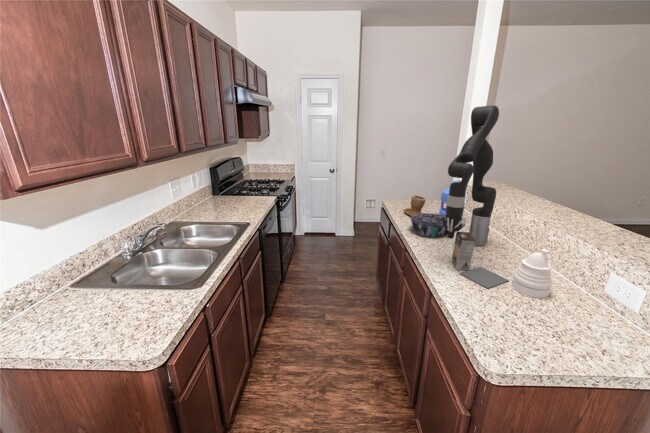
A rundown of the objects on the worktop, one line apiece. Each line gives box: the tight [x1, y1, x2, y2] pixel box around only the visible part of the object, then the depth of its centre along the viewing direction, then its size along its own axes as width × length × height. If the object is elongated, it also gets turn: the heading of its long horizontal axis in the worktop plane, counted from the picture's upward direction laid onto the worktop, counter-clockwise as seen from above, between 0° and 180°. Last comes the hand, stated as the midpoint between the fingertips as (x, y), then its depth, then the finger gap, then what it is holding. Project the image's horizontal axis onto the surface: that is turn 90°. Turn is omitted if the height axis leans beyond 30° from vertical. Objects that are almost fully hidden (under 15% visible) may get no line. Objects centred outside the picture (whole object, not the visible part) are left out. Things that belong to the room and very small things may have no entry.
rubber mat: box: [459, 266, 510, 290], centre depth 126 cm, size 14×14×1 cm
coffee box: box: [451, 231, 475, 271], centre depth 134 cm, size 9×6×16 cm
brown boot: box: [403, 195, 426, 217], centre depth 211 cm, size 15×12×15 cm
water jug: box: [438, 180, 467, 220], centre depth 197 cm, size 16×16×28 cm
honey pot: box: [511, 248, 553, 299], centre depth 115 cm, size 13×13×18 cm
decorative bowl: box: [410, 212, 448, 238], centre depth 180 cm, size 26×28×10 cm
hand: (450, 238), depth 140 cm, fingers closed
